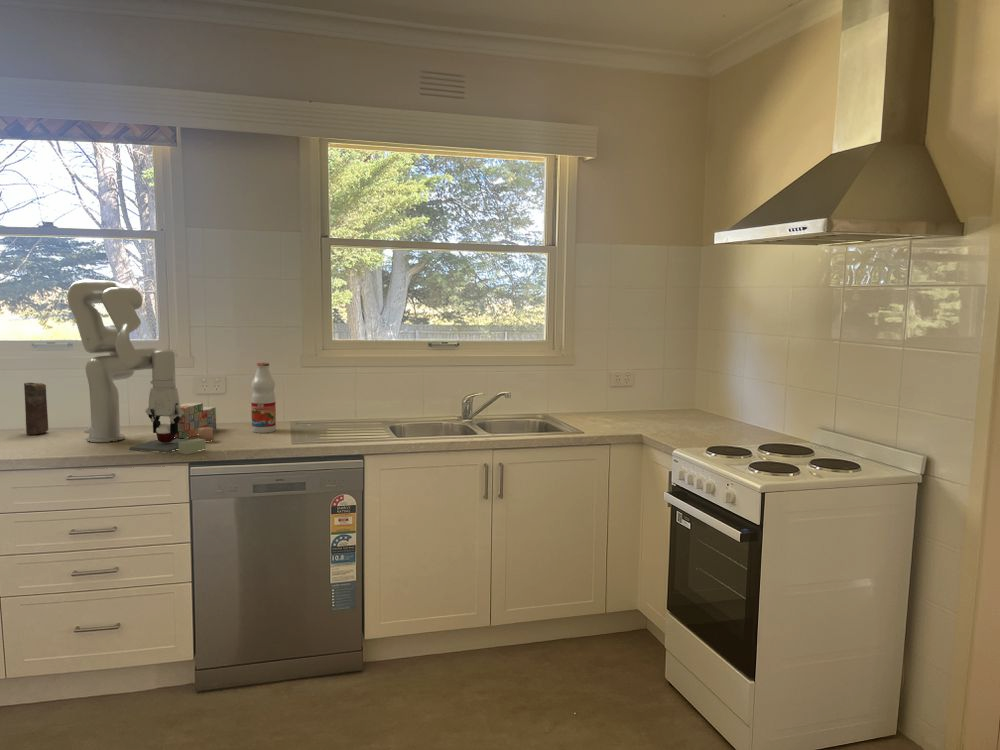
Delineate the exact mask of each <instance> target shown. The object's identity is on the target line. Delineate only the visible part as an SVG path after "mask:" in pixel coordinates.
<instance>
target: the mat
mask: <svg viewBox="0 0 1000 750" xmlns="http://www.w3.org/2000/svg"><path fill="white" fill-rule="evenodd" d="M187 440H188V438H187V439H179V438H176V439H174V440H173V441H171V442H167V443H162V442H160V441H159V440H158V439H154V440H150V441H147V442H144V443H140V444H136V445H132V446H129V447H128V448H129V451H138V450H142V451H141V452H150V451H159V452H158V453H162V452H167V453H166V454H169V453H168V452H170V451H172V450H176V449H179V445H178V442H181V441H187ZM170 453H171V452H170Z"/></svg>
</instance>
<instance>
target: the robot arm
mask: <svg viewBox="0 0 1000 750" xmlns="http://www.w3.org/2000/svg"><path fill="white" fill-rule="evenodd" d="M67 304H68V306H69V309H70V311H71V313H72V315H73V317H74V319H75V322H76V326H77V329H78V333H79V337H80V340H81V343H82V346H83V348H84V350H85V351H86V352H87V353H89V354H107V353H108V354H109V355H102V356H101V355H99V356H94V357H93V358H90V359H89V360H88V361H87V362H86V364H85V367H84V368H85V374H86V378H87V382H88V383H87V384H88V389H89V404H90V405H89V406H90V407H89V408H90V424H91V425H90V426H91V427H87V428H86V429H84V430H83V431H84V432H83V433H84V434H89V435H88V436H87V437H86V441H87V442H89V441H90V442H91V443H110V441H113V442H118V440H119V441H122V440H124V439H125V438H126V435H125V434H123V433H121V422H120V396H119V390H118V388H117V386H116V385H115V383H114V381H121V380H126V379H129V378H131V377H132V376H133V375H134V373H135V371H143V370H151V372H152V374H151V375H152V380H151V381H150V384H151V385H152V387H151V388H150V391H149V395H148V408H146V409H145V413H146V415H148V418H149V419H150V422H151V423H152V432H153V434H156V429H157V425H156V423H155V420H154V418H153V416H152V413H151V411H150V409H151V410H152V412H153V414H154V416H155V419H156V421H157V423H158V426H159V425H160V424H162V423H161V421H160V418H161V417H168V418H169V420H171V422H172V423H170V424H169V425H170V434H176V433H178V422H179V421H180V419H181V418H182V417H183V416H184V414H185V413H184V411H183V410H182V409H181V408H180V405H181V404H180V396H179V392H178V388H177V387H176V364H175V363H176V360H175V359H176V356H175V352H174V351H173V350H171V349H159V348H153V347H151V348H136V349H135V347H134V345H133V344H132V341H131V339H130V334H131V333H133V332H134V331H136V330H137V329H138V328H139V327H140V326H141V324H142V321H141V318H140V317H139V315H138V314H137V312H136V310H138V309H140V308H141V306H142V305H143V296H142V294H141V292H139V290H138V289H136V288H135V287H132V286H129V285H127V284H123V283H121V282H118V281H114V280H99V279H80V280H78V281H74V282H73V283H72V284H71V285H70V286H69V288H68V291H67ZM93 304H102V305H103V307H104V308H105V310H106V313H107V314H108V317H110V319H111V321H112V324H113V325H114V326H115V327H105V324H104V321H103V318H102V316H101V314H100V312H99V311H98V310H97V308H96V307H94V306H93ZM177 415H178V416H177Z"/></svg>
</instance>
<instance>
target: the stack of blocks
mask: <svg viewBox="0 0 1000 750" xmlns="http://www.w3.org/2000/svg"><path fill="white" fill-rule="evenodd" d="M180 408H181V409H182V410H183V411H184V413H185V414H184V416H183V417H182V418H181V419H180V421H179V422H178V432H179V436H178V433H176V434H175V437H177V436H178V437H177V438H176V439H179V438H187V437H190V438H192V437H191V436H193V437H195V436H194V435H197V434H198V428H201V427H212V428H213V429H215V430H217V413H216V406H215V407H214V406H203V403H202V402H200V403H199V402H187V403H182V404H180ZM177 416H178V415H177ZM169 420H170V419H169ZM169 422H170V424H171V423H172V422H171V420H170V421H169ZM197 436H198V435H197ZM187 439H188V438H187Z"/></svg>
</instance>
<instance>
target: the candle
mask: <svg viewBox="0 0 1000 750" xmlns="http://www.w3.org/2000/svg"><path fill="white" fill-rule="evenodd" d="M23 386H24V387H23V388H24V389H23V390H24V408H25V409H24V411H25V433H26V435H27V436H34V435H37V434H38V435H40V434H44V433H47V432H48V431H49V417H48V404H47V403H48V401H47V385H46V384H45V383H42V382H40V383H39V382H36V383H35V382H24V384H23Z"/></svg>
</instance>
